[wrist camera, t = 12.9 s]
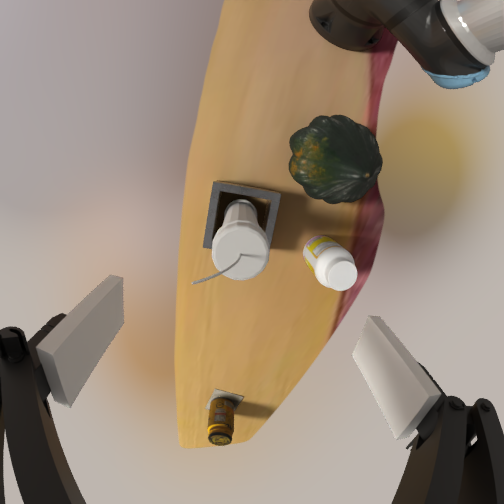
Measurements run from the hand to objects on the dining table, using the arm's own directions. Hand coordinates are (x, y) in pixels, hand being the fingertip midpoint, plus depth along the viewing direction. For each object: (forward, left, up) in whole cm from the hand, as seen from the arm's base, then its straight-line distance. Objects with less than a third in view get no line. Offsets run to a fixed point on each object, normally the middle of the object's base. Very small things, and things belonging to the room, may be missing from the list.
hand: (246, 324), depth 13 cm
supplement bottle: (-15, +4, -36) cm, 39 cm away
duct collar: (0, 0, -36) cm, 36 cm away
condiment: (-3, +46, -36) cm, 59 cm away
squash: (-13, -12, -36) cm, 40 cm away
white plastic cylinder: (+1, 0, -36) cm, 36 cm away
